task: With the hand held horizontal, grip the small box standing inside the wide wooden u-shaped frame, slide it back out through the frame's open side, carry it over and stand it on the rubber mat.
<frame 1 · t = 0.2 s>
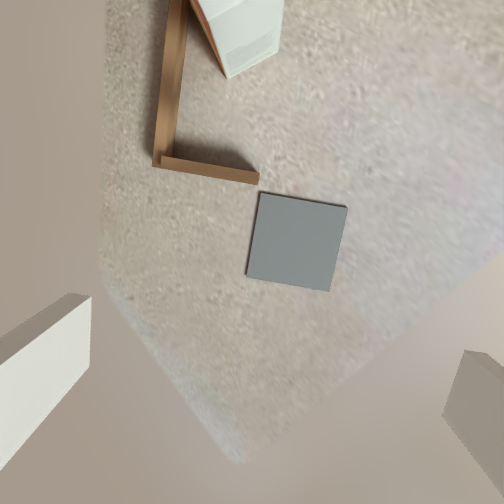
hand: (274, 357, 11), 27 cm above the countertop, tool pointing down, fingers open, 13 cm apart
mat: (295, 243, 38), on the countertop
wooden u-shaped frame: (235, 30, 34), on the countertop
small box: (235, 31, 34), on the countertop
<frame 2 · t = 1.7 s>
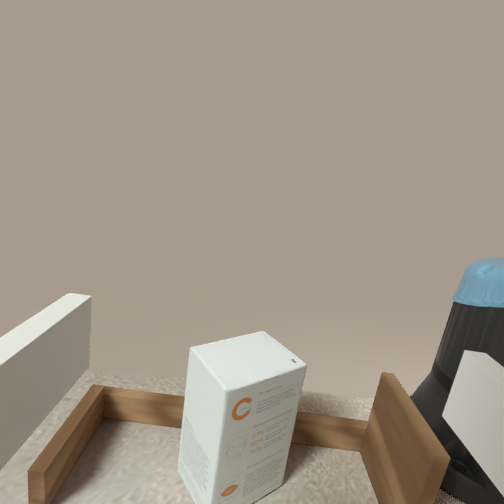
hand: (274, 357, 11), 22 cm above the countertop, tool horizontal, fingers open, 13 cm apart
wooden u-shaped frame: (229, 477, 30), on the countertop
small box: (228, 479, 30), on the countertop
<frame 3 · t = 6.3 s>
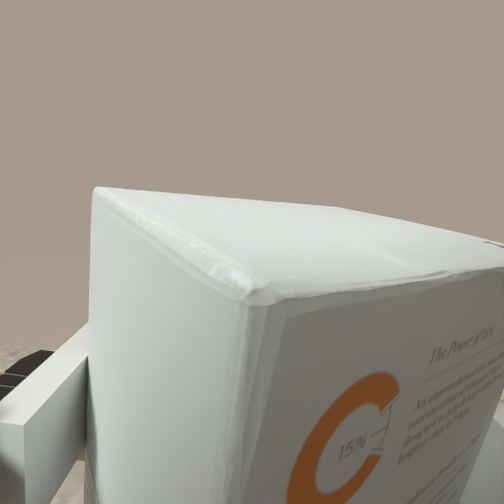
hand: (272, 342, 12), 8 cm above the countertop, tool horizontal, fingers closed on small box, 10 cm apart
when the fingers open (9 cm above the countertop, at t = 13.9 s): small box moves 1 cm, resting on mat.
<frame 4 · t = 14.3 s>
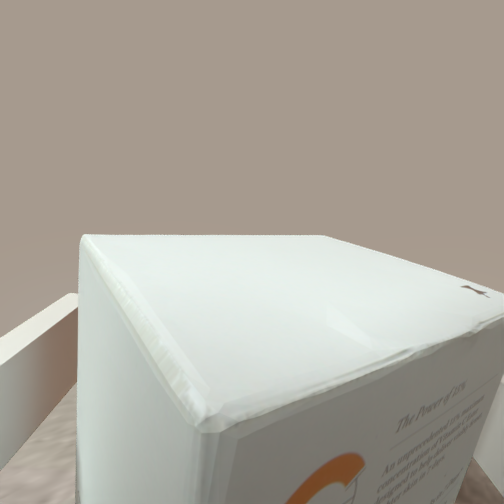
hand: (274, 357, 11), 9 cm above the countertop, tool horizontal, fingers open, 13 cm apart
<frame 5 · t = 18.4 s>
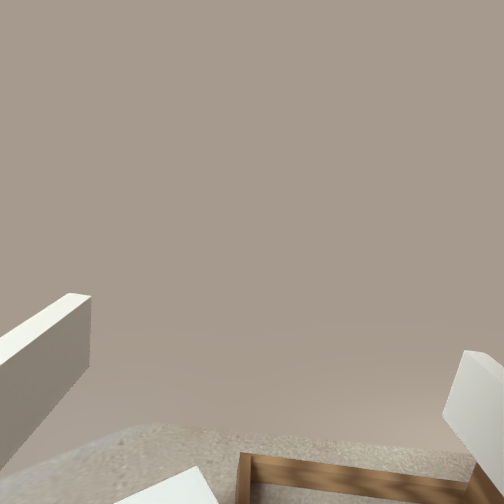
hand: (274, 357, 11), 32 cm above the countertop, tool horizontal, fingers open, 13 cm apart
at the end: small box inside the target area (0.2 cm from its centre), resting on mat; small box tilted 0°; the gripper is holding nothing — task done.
